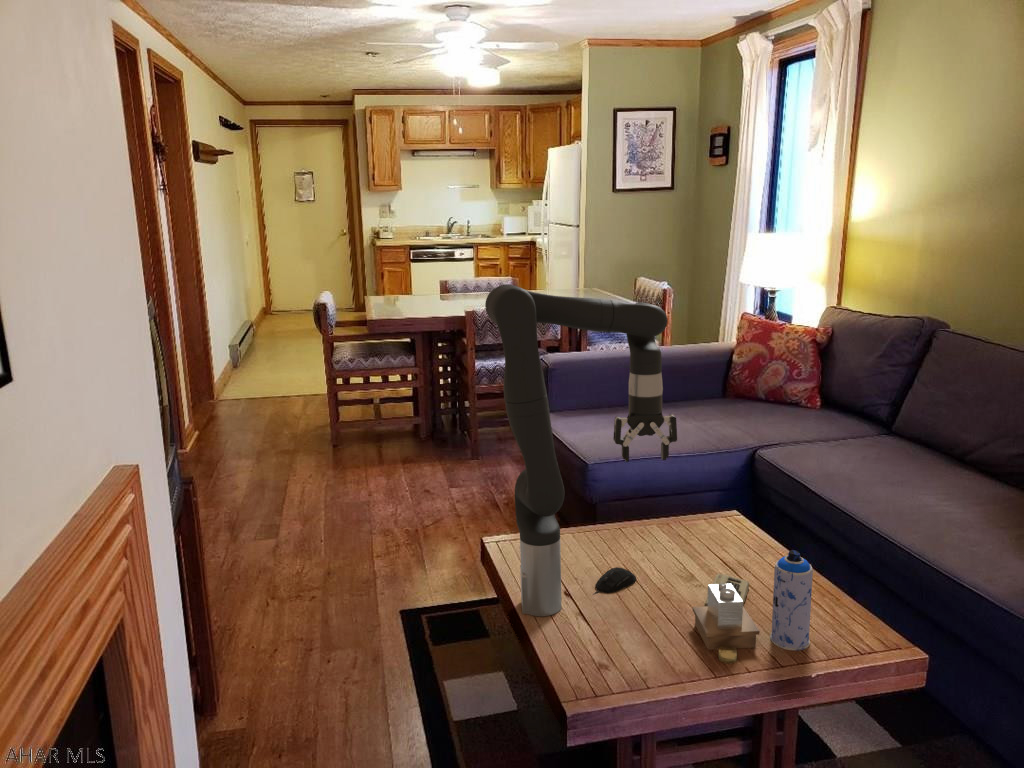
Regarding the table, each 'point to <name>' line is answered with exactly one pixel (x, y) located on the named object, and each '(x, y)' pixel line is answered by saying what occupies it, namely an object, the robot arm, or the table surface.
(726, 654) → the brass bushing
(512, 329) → the robot arm
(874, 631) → the table surface
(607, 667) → the table surface
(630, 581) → the gaming mouse
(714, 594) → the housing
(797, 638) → the aerosol can
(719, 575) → the computer
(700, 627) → the stand
